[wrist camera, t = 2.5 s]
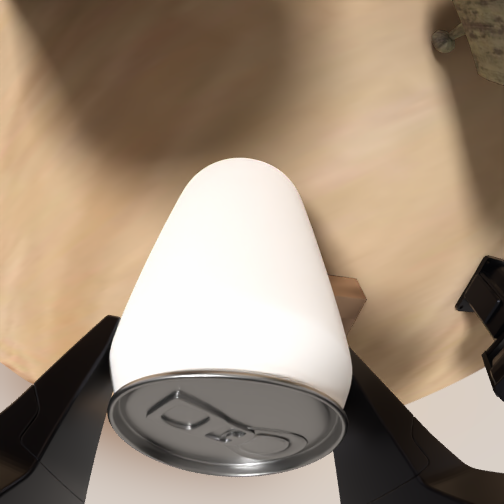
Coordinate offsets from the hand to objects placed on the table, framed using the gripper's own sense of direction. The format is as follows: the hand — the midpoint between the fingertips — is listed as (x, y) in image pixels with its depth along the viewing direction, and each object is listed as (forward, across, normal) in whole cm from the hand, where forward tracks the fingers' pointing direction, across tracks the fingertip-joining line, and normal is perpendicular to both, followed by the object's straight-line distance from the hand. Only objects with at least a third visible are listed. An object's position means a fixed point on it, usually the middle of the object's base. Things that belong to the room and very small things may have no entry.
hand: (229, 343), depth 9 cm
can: (+9, -1, 0) cm, 9 cm away
